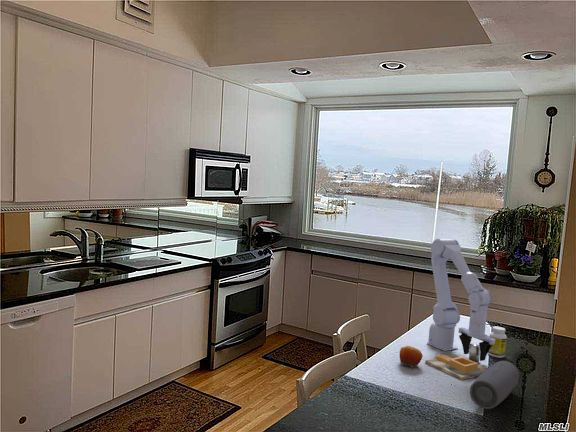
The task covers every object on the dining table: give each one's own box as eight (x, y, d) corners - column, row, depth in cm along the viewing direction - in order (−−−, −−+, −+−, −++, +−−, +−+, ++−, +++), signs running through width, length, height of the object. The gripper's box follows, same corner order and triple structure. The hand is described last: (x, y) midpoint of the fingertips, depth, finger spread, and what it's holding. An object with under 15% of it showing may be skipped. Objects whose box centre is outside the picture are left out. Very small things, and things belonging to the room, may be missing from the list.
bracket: (433, 359, 176) (433, 352, 176) (445, 356, 180) (445, 349, 179) (465, 373, 164) (465, 366, 164) (477, 370, 168) (478, 363, 168)
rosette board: (425, 362, 174) (425, 359, 174) (453, 356, 183) (454, 353, 183) (464, 381, 160) (464, 377, 160) (493, 373, 169) (493, 370, 169)
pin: (466, 359, 181) (468, 344, 180) (472, 358, 183) (474, 343, 182) (474, 363, 178) (476, 347, 177) (480, 361, 180) (482, 346, 179)
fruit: (394, 363, 168) (399, 341, 171) (398, 368, 174) (403, 347, 178) (417, 369, 164) (422, 346, 168) (421, 374, 171) (425, 352, 174)
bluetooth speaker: (489, 384, 159) (492, 355, 159) (519, 393, 154) (522, 363, 153) (465, 406, 142) (469, 374, 141) (498, 418, 136) (502, 384, 135)
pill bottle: (502, 359, 183) (505, 331, 183) (485, 355, 187) (488, 327, 186) (506, 355, 188) (509, 328, 188) (490, 351, 192) (492, 324, 191)
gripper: (454, 317, 183) (451, 351, 184) (488, 329, 171) (484, 365, 172) (466, 315, 187) (463, 349, 188) (500, 326, 175) (496, 362, 176)
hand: (474, 356), depth 180 cm, fingers open, 6 cm apart
